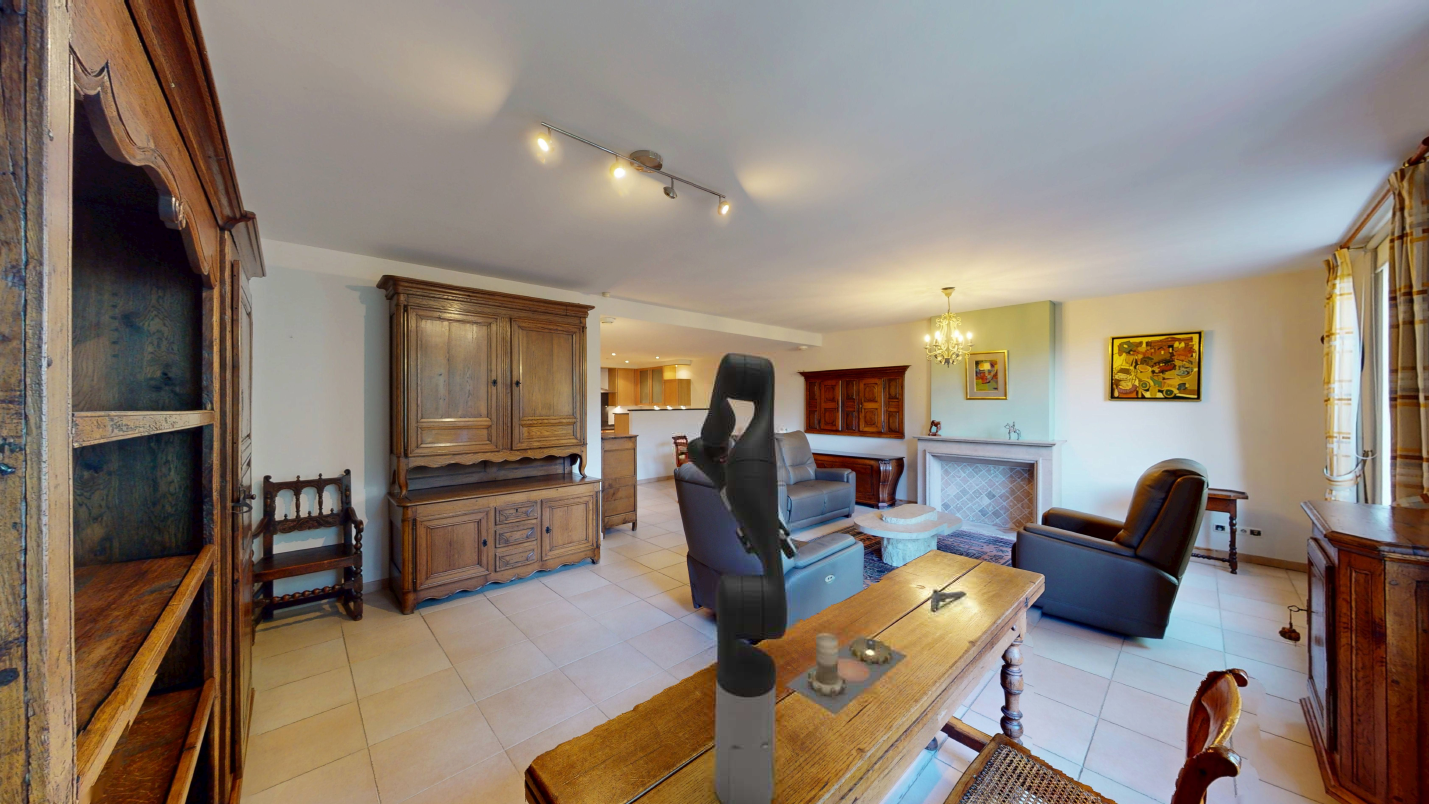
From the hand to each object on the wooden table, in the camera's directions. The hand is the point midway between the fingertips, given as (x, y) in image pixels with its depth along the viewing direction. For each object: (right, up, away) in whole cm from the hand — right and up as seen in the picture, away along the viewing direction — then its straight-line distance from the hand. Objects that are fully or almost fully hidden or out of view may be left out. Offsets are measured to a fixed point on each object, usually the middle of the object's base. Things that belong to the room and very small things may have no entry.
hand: (781, 561), depth 105 cm
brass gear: (+21, -23, +5) cm, 32 cm away
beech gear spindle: (+8, -23, -7) cm, 26 cm away
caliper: (+56, -25, +37) cm, 72 cm away
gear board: (+15, -25, -1) cm, 29 cm away
